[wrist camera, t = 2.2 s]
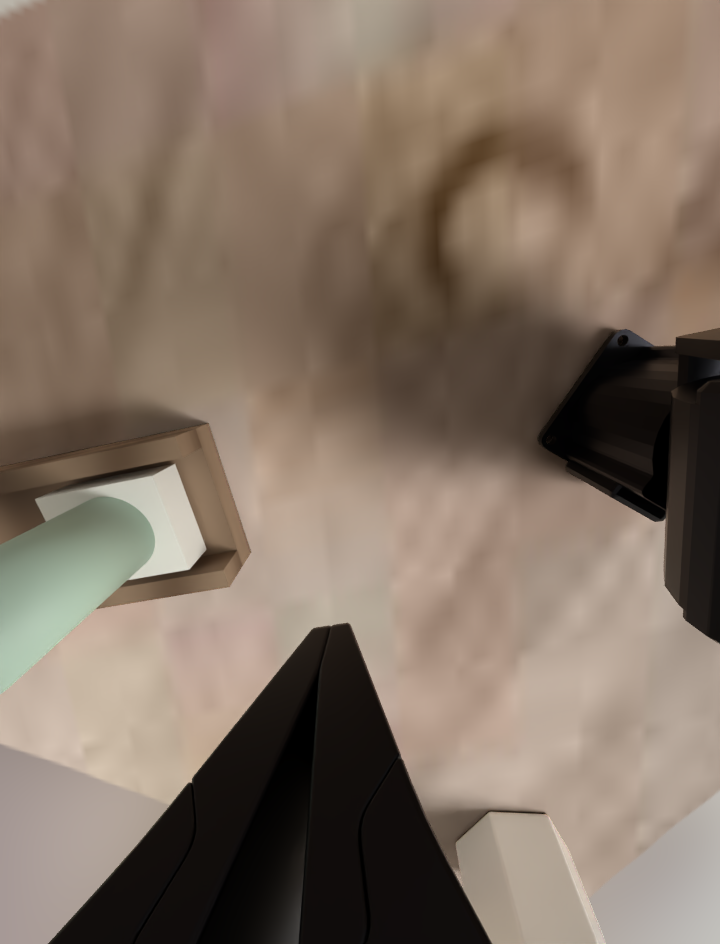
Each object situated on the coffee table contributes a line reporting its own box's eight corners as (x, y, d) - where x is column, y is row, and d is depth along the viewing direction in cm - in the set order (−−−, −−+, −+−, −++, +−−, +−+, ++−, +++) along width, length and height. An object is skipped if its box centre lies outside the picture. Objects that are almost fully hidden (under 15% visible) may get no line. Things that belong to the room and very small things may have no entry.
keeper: (174, 463, 19) (-2, 558, 10) (206, 549, 20) (77, 699, 11) (68, 485, 19) (-190, 593, 10) (106, 567, 21) (-92, 723, 12)
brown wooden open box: (208, 423, 20) (156, 444, 15) (250, 552, 22) (217, 605, 17) (-125, 492, 22) (-266, 531, 17) (-54, 604, 24) (-160, 666, 19)
